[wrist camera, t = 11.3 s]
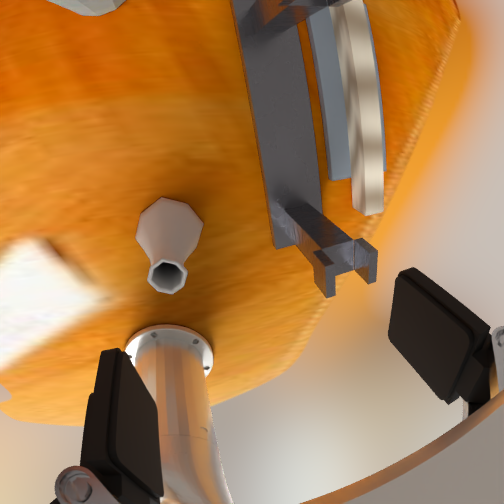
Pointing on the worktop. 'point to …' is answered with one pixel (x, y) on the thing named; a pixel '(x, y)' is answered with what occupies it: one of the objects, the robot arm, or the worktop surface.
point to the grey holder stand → (292, 139)
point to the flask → (168, 242)
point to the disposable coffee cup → (89, 6)
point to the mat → (335, 93)
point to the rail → (360, 105)
